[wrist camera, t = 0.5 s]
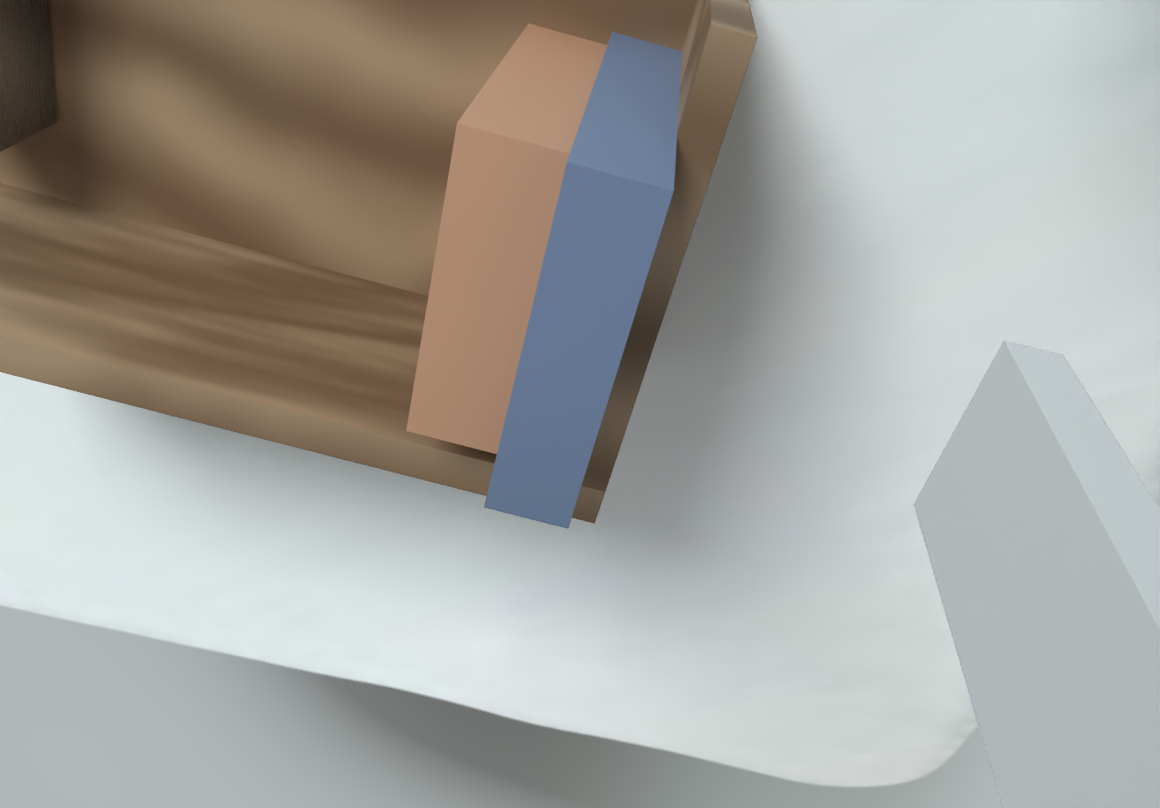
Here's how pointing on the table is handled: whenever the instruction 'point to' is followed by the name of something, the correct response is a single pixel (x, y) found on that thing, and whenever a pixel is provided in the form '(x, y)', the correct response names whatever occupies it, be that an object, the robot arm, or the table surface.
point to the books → (545, 258)
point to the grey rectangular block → (25, 71)
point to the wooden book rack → (297, 208)
